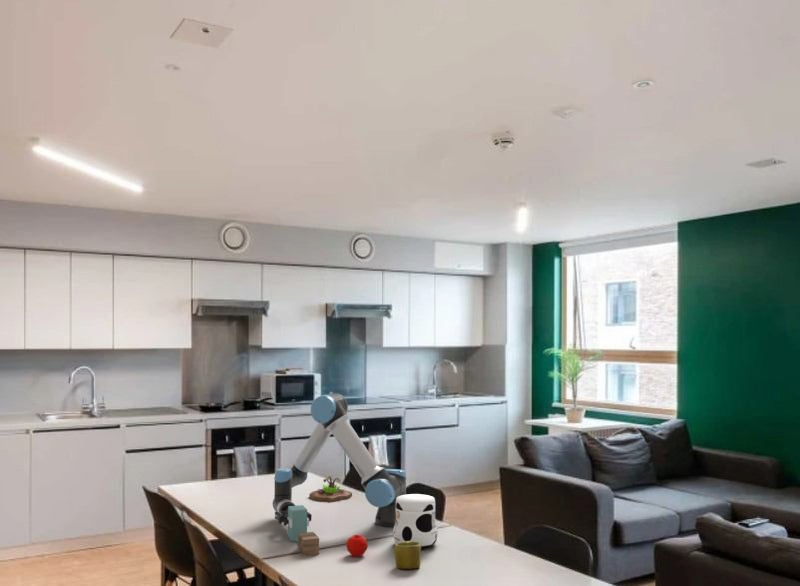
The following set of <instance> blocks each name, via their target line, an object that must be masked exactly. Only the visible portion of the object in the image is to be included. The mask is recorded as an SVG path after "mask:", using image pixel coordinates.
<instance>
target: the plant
mask: <svg viewBox="0 0 800 586" xmlns="http://www.w3.org/2000/svg"><path fill="white" fill-rule="evenodd" d="M336 480H337V482H339V483H340V482H341V479H340V478H338V477H336V478H334V479H332V477H331V476H330V475H328V476H327V477H326V478H324V479H323V483H326V482H327V485H324V484H322V487H321V488H318V489H316V490H314V491H311V492H310V493H309V494H308V495H309V499H311V500H312V501H316V502H327V503H336V502H340V501H341V502H342V501H345V500H349V499H351V498H352V497H353V492H351V491H349V490H345V489H342V488H341V487H342V486H341V485H340V486H338V485H337V484H336V483H335V482H336Z"/></svg>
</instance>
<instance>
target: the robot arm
mask: <svg viewBox="0 0 800 586" xmlns="http://www.w3.org/2000/svg"><path fill="white" fill-rule="evenodd" d="M348 410H349V403H348V401H347V398H345V396H343V395H342V394H340V393H337V392H333V393H332V392H331V393H329V394H321V395H320V396H317V397H316V398H314V399H313V401H312V403H311V406H310V414H311V417H312V419H313V420H314V421H315V422H317V424H316V426H315V428H314V429H313V432H312V433H311V435H310V436H309V438H308V439H307V441H306V443H305V444H304V447H303V448H302V450H301V452H300V453H299V454H298V457H297V458H296V460H295V462H294V463H293V465H292V467H291V468H289V467H288V468H287V467H282V468H277V469H276V470H275V472H274V495H273V497H274V498H273V499H272V508H273V509H274V511H275V512H274V519H276V521H277V522H278V524H280V525H281V524H283V526H287V527H288V526H289V527H290V528H292V520H291V519H290V518H289V517H288V506H297V505H296V504H295V503H294V502H293V501H292V498H293V497H292V494H293V492H292V491H293V488H295V487H296V486H300V485H302V484H303V483H305V482H306V480H308V473H309V471H310V470H311V468H312V466H313V465H314V463H315V462H316V460H317V458H318V457H319V455H320V453H321V451H322V450H323V448H324V446H325V445H326V443H327V442H328V440H329V438H330V436H331V435H333V437H334V438H335V440H336V441H337V443H338V445H339V446H340V447H341V449H342V450H343V452H344V454H345V455H346V456H347V458H348V459H349V461H350V463H351V464H352V465H353V467H354V468H355V470H356V472H357V473H358V474H359V476H360V478H361V486H362V487H363V488H364V496H365V499H366V500H367V502H368V503H369V504H370V505H372V506H373V507H376V508H377V510H376V515H375V518H374V519H375V520H374V522H375V523H374V524H376V525H378V526H382V527H387V528H388V527H389V528H394V525H395V521H396V498H397V497H398V496H401V495H406V494H407V492H406V491H407V489H406V488H407V473H406V471H405V470H404V469H396V468H395V469H394V468H385V467H382V466H379V465H378V464H377V462H376V460H375V459H374V458H373V456H372V455H371V453H370V452H369V450H368V449H367V447H366V445H365V444H364V442H362V441H363V440H362V439H361V438H360V437H359V436H358V434H357V432H356V430H355V429H354V428H353V426H352V425H351V423H350V422H349V420H348V418H349V414H348ZM312 516H313V514H312V513H310V512H309V511H307V527H310V522H311V521H312Z"/></svg>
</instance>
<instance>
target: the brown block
mask: <svg viewBox="0 0 800 586" xmlns="http://www.w3.org/2000/svg"><path fill="white" fill-rule="evenodd" d="M297 551H298V552H299V553H300V554H301V555H302V556H303V557H309V556H316V555H317V556H318V555H320V537H319V536H318V535H317V534H316V532H314V531H309V532H308V531H307V533H298V541H297Z"/></svg>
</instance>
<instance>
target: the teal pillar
mask: <svg viewBox="0 0 800 586" xmlns="http://www.w3.org/2000/svg"><path fill="white" fill-rule="evenodd" d="M307 512H308V509H307V507H306V506H304V505H302V504H301V505H300V504H299V505H296V506H288V517H289V518H290V519H291V520H292V528H290V527H289V526H288V525H287V538H288V539H289V540H290V541H291V542H298V533H307V532H308V526H307Z"/></svg>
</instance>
